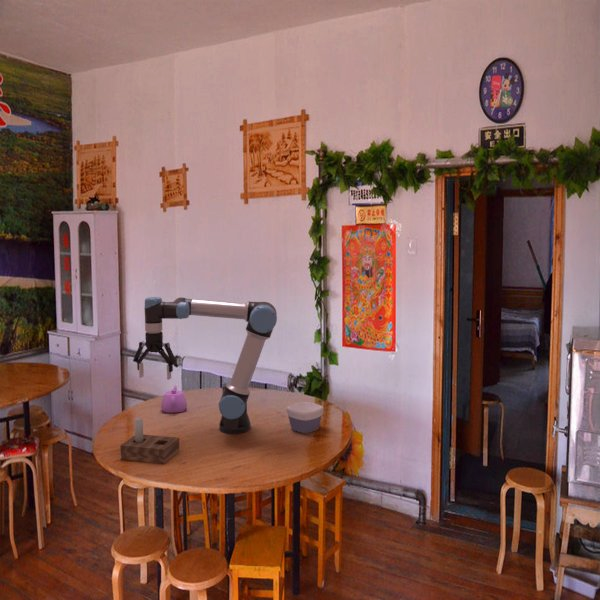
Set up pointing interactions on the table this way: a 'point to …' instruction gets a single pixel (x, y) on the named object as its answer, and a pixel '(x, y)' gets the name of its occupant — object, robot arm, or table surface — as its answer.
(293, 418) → the lidded storage container
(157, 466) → the table surface
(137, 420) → the pin
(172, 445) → the block
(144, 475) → the table surface
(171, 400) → the teapot
